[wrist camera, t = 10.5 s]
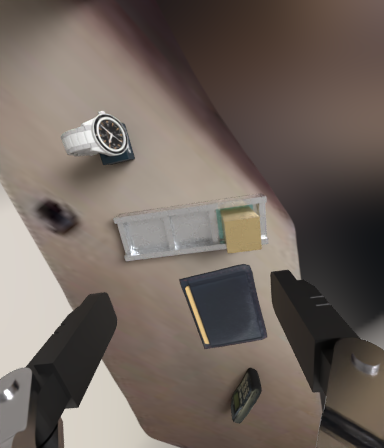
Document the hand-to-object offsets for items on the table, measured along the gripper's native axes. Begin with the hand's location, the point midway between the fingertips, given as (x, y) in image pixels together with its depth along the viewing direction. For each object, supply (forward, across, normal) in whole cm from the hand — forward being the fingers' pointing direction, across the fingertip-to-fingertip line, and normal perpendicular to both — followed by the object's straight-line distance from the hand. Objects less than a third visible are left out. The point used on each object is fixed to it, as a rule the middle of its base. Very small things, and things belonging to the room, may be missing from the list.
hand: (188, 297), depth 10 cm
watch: (+28, +12, -10) cm, 32 cm away
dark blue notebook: (+28, -2, +26) cm, 38 cm away
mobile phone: (+26, -3, +50) cm, 57 cm away
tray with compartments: (+27, +2, +6) cm, 28 cm away
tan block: (+26, -6, +6) cm, 27 cm away
